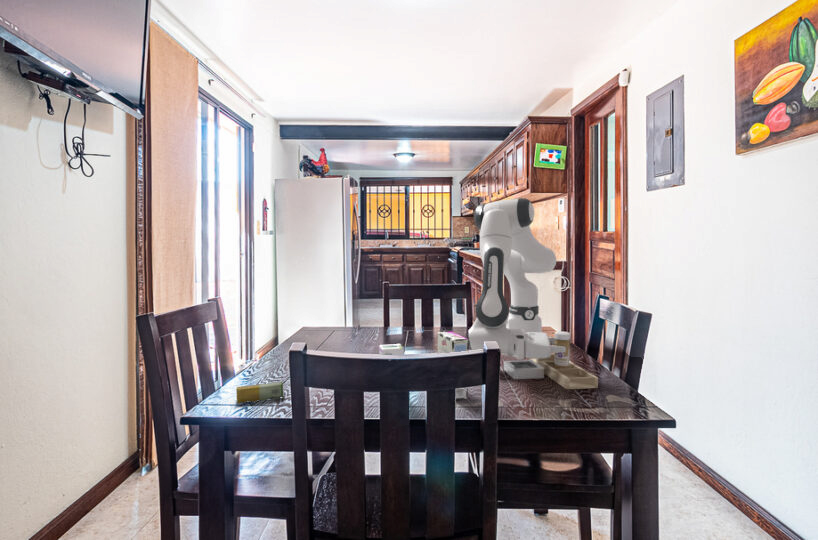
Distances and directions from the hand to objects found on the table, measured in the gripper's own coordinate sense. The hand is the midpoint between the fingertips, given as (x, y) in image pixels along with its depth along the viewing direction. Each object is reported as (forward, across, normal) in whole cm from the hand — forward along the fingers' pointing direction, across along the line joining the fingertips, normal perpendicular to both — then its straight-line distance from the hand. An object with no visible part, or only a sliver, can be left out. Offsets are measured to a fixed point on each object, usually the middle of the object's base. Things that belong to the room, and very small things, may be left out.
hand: (564, 345), depth 137 cm
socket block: (-12, +2, -9) cm, 16 cm away
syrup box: (-47, +33, -10) cm, 58 cm away
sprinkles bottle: (-1, 0, -10) cm, 10 cm away
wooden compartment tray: (-1, 0, -9) cm, 9 cm away
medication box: (-81, +41, -10) cm, 91 cm away
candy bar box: (-32, +25, -10) cm, 41 cm away
